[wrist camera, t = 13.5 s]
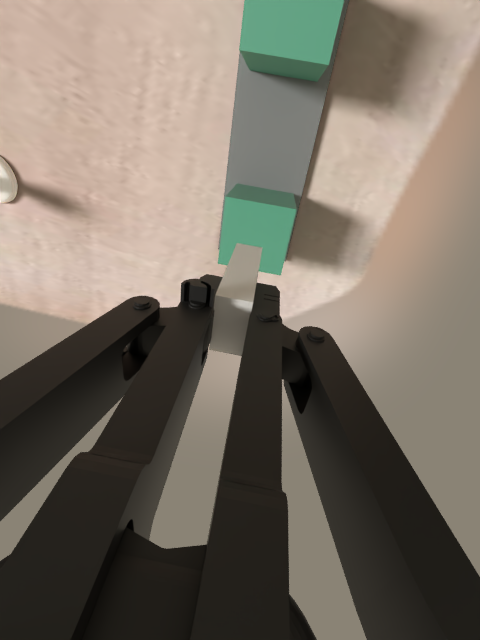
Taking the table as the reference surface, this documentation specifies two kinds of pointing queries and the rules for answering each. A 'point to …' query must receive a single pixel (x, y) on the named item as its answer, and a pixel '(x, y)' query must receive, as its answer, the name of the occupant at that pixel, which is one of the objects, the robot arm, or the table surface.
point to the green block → (258, 224)
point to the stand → (281, 91)
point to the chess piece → (7, 182)
